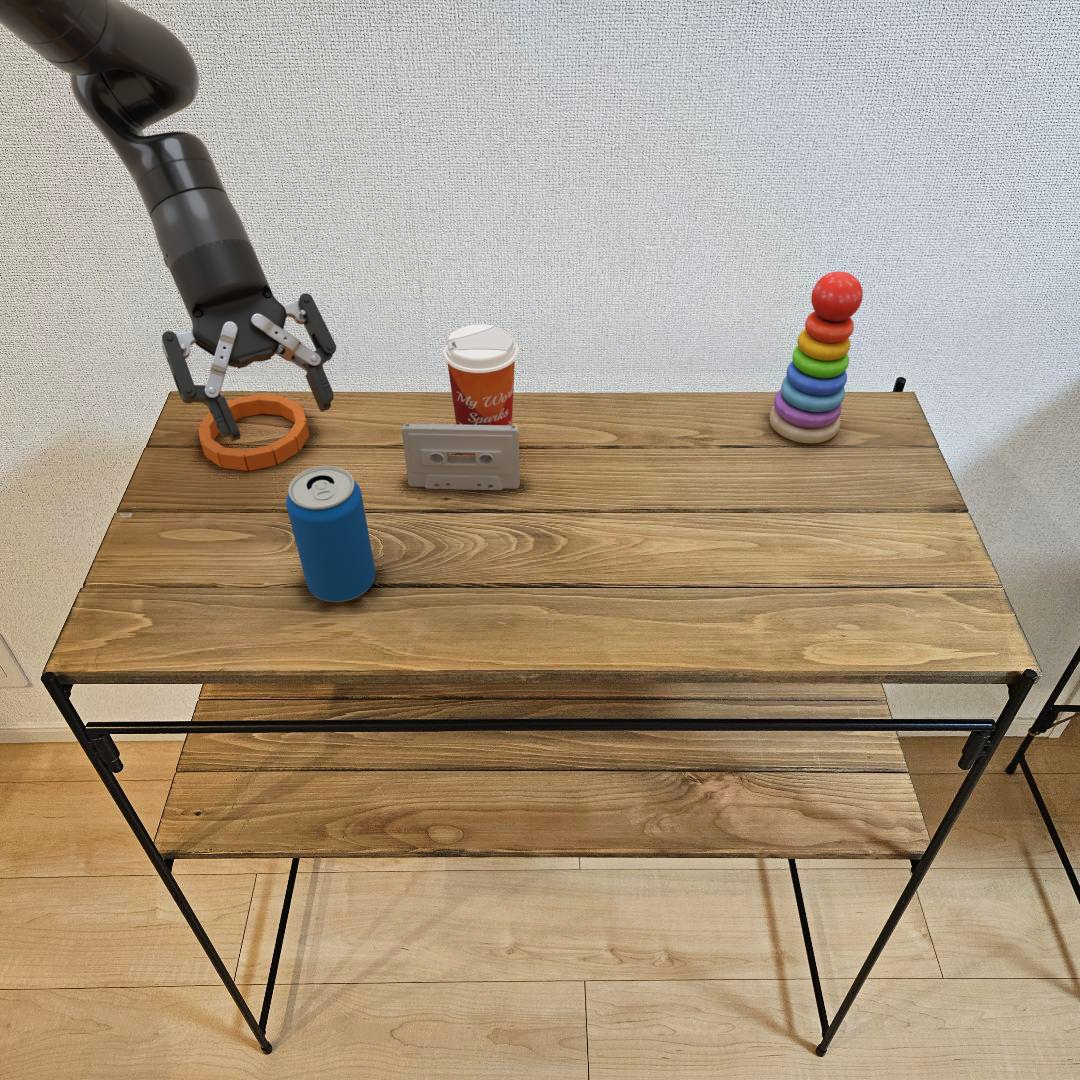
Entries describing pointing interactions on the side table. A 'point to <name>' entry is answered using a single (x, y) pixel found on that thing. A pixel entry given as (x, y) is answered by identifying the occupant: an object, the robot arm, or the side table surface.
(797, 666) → the side table surface
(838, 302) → the stacking toy
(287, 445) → the ring
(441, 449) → the cassette
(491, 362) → the paper cup
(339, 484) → the beverage can
